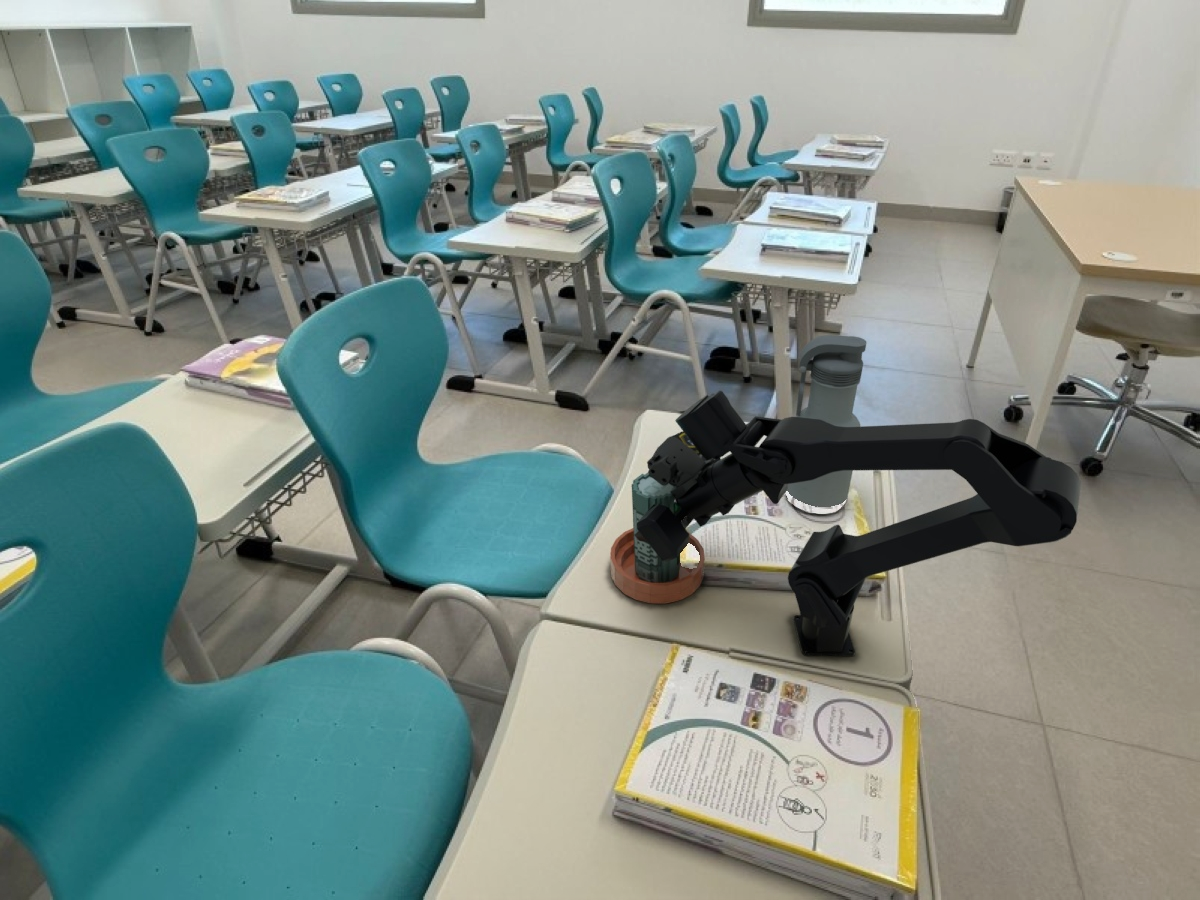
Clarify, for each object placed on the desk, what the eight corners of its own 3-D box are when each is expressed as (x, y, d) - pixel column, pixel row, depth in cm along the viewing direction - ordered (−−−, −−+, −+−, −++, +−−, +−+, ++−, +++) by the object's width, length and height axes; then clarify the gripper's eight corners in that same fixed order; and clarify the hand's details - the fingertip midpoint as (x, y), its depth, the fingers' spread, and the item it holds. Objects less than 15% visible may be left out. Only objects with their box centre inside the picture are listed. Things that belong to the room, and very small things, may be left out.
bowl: (706, 605, 98) (708, 586, 96) (609, 604, 98) (609, 585, 96) (699, 543, 109) (700, 524, 107) (612, 542, 109) (611, 523, 108)
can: (686, 567, 104) (687, 481, 96) (661, 590, 100) (660, 504, 92) (653, 550, 107) (651, 466, 99) (627, 572, 103) (623, 487, 95)
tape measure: (663, 451, 131) (663, 433, 129) (697, 443, 133) (697, 425, 131) (680, 470, 125) (681, 452, 123) (715, 462, 127) (716, 444, 125)
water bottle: (779, 512, 115) (801, 351, 100) (783, 478, 123) (804, 324, 108) (846, 521, 112) (879, 357, 97) (846, 486, 120) (876, 329, 105)
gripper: (719, 399, 95) (645, 447, 106) (652, 467, 82) (575, 514, 93) (770, 465, 96) (691, 506, 107) (711, 543, 82) (628, 581, 93)
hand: (648, 524), depth 100 cm, fingers closed on can, 6 cm apart
